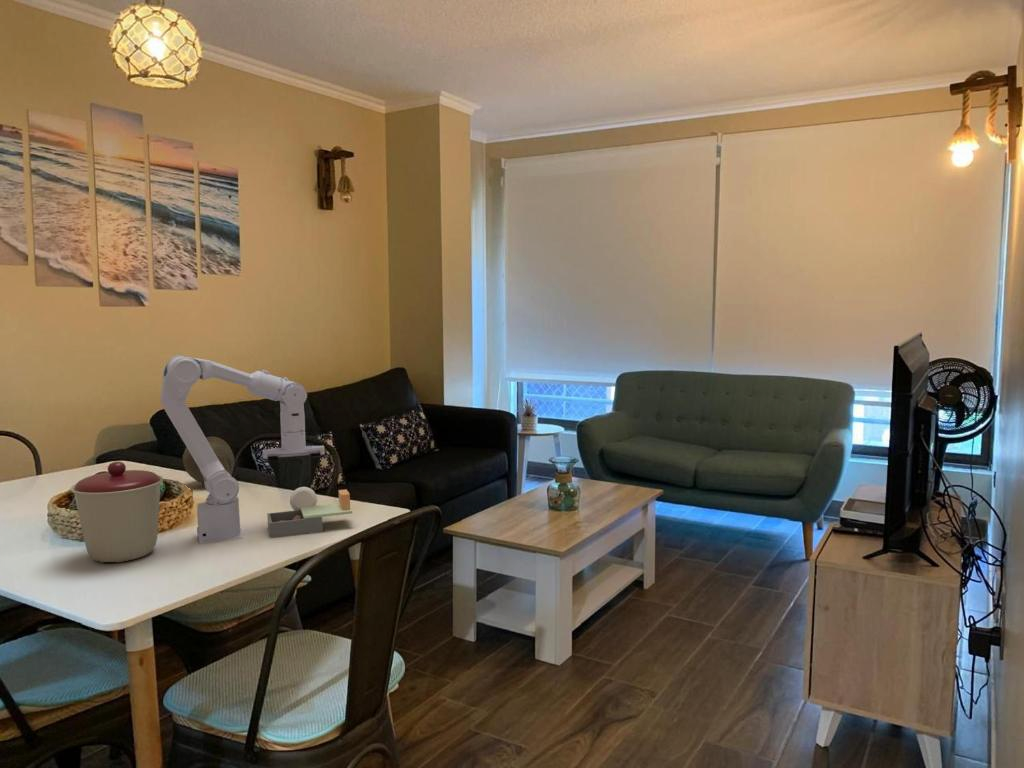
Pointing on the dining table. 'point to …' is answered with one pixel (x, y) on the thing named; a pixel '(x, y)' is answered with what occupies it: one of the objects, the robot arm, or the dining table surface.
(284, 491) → the dining table surface
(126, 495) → the canister
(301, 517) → the ball
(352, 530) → the dining table surface
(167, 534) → the dining table surface
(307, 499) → the supplement bottle
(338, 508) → the lid
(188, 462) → the cantaloupe
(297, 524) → the tub
